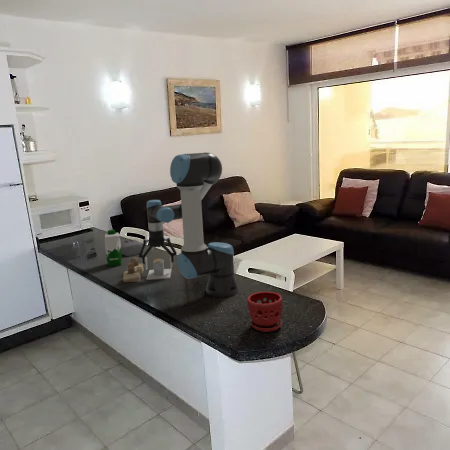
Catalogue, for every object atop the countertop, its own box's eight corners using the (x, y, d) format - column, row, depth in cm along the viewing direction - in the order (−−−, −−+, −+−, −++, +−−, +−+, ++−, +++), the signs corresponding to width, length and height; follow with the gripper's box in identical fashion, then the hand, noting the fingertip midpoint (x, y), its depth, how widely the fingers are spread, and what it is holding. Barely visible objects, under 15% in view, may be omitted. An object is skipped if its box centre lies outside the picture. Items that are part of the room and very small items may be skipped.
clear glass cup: (163, 275, 215) (162, 261, 213) (154, 275, 215) (153, 261, 213) (164, 271, 221) (163, 257, 219) (155, 271, 221) (154, 258, 219)
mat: (169, 278, 212) (169, 277, 212) (146, 279, 211) (146, 278, 211) (171, 269, 225) (171, 268, 225) (149, 270, 225) (149, 269, 224)
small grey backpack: (145, 253, 259) (134, 246, 275) (144, 240, 257) (133, 234, 274) (122, 258, 251) (112, 251, 268) (121, 245, 249) (111, 238, 266)
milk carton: (122, 261, 244) (119, 228, 240) (122, 265, 236) (119, 232, 231) (107, 262, 242) (103, 230, 238) (107, 267, 233) (103, 233, 229)
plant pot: (281, 318, 162) (280, 290, 159) (284, 334, 149) (283, 303, 146) (248, 318, 162) (247, 290, 160) (248, 334, 150) (247, 304, 147)
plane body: (139, 281, 209) (137, 264, 207) (123, 282, 209) (122, 265, 207) (143, 270, 226) (142, 254, 224) (128, 271, 225) (127, 255, 223)
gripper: (179, 226, 217) (182, 265, 222) (133, 229, 216) (136, 267, 220) (179, 230, 210) (181, 269, 214) (131, 232, 208) (134, 272, 213)
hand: (158, 268), depth 217 cm, fingers open, 12 cm apart
